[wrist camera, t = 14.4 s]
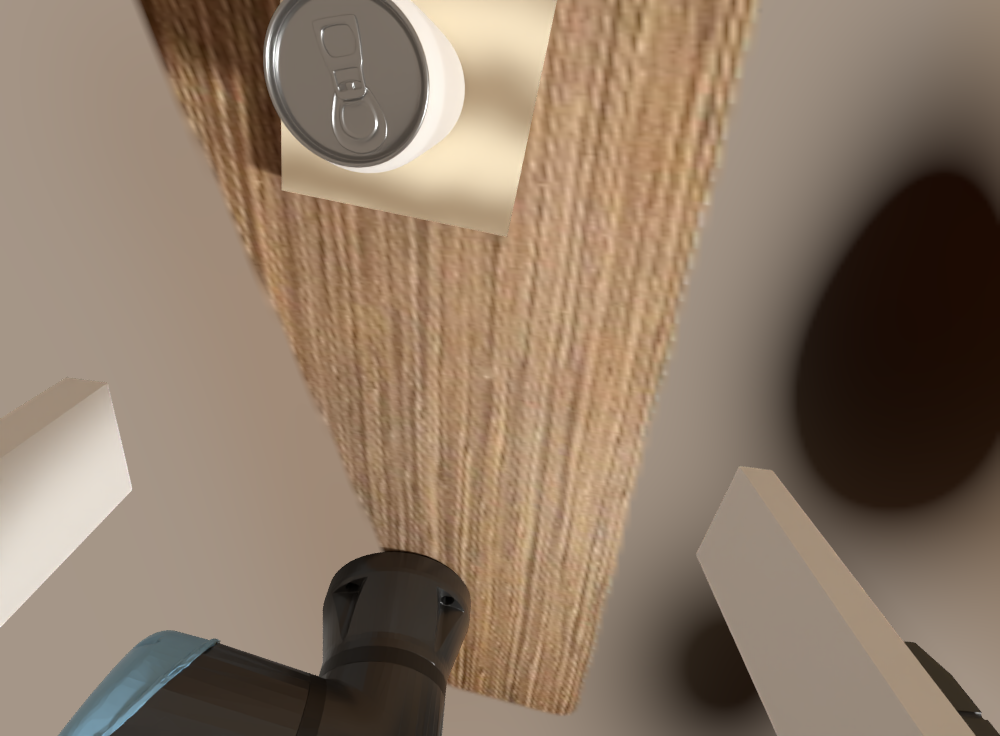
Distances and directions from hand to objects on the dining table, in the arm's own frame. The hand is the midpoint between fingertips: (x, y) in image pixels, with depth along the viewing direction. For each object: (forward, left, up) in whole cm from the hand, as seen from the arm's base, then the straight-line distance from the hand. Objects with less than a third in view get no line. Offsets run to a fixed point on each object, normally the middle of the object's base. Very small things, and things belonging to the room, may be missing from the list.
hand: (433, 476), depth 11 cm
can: (+7, +5, -23) cm, 25 cm away
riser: (+7, +5, -26) cm, 28 cm away
